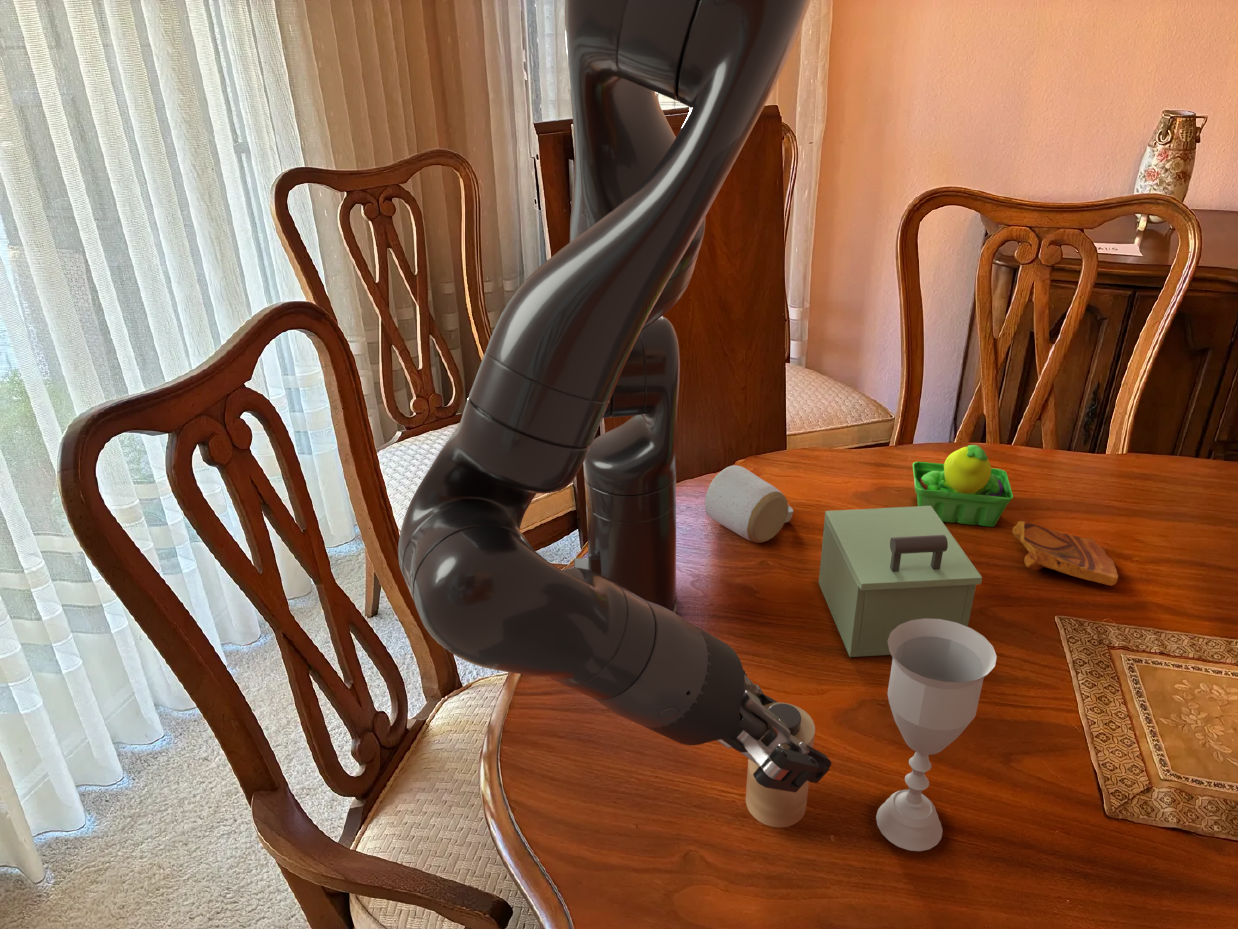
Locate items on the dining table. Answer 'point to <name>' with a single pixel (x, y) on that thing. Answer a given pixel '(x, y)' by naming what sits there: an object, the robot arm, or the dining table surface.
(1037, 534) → the pottery fragment
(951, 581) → the bread box lid
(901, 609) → the bread box
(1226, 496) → the dining table surface
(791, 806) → the pepper mill
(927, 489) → the fruit basket
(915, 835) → the chalice
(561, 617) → the robot arm
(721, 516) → the ceramic mug
